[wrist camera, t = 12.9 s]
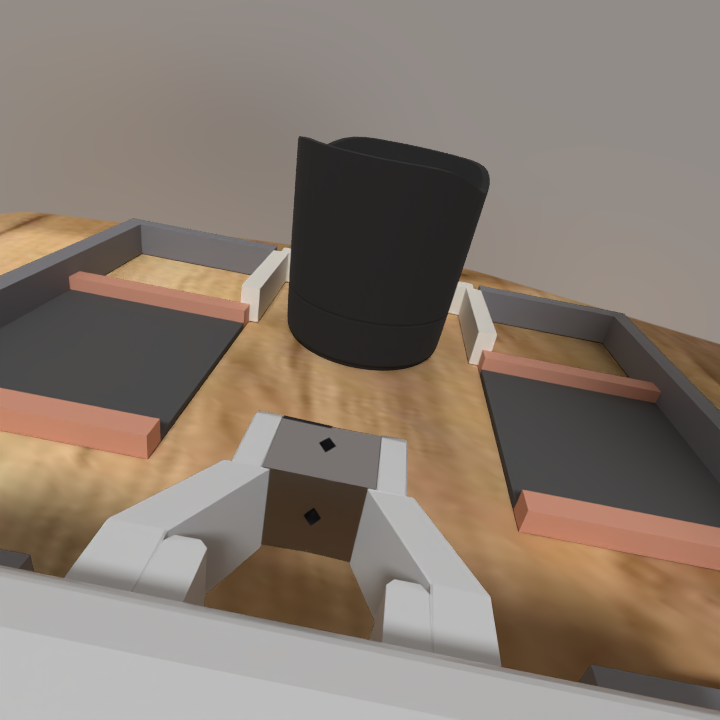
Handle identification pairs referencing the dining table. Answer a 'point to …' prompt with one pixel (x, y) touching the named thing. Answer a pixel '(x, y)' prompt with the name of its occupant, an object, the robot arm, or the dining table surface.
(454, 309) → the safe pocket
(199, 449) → the dining table surface
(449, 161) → the pen holder
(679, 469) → the box
